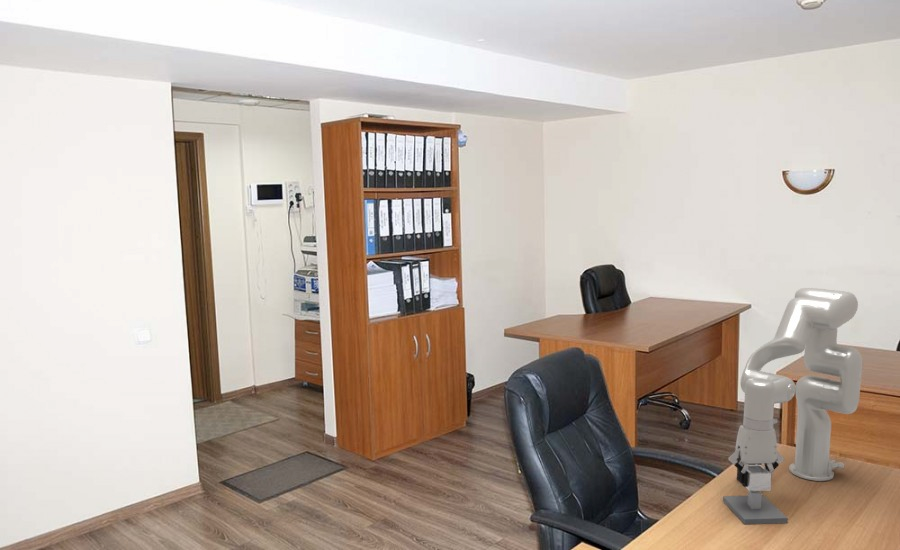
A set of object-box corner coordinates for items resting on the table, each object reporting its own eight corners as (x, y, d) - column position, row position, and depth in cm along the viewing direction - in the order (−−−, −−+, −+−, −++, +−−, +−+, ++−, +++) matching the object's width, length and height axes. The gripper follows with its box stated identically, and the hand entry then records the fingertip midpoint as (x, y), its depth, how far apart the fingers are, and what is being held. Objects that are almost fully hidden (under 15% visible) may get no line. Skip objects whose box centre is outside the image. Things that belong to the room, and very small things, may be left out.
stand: (762, 499, 202) (763, 480, 201) (787, 523, 188) (788, 502, 187) (722, 500, 202) (723, 481, 201) (744, 524, 188) (745, 503, 187)
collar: (760, 481, 197) (761, 464, 196) (770, 490, 191) (771, 473, 190) (739, 481, 196) (740, 465, 196) (749, 490, 190) (750, 473, 190)
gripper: (781, 418, 195) (778, 478, 198) (721, 419, 195) (719, 479, 197) (795, 427, 188) (791, 489, 190) (733, 428, 187) (730, 491, 190)
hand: (754, 484), depth 194 cm, fingers closed on collar, 5 cm apart
